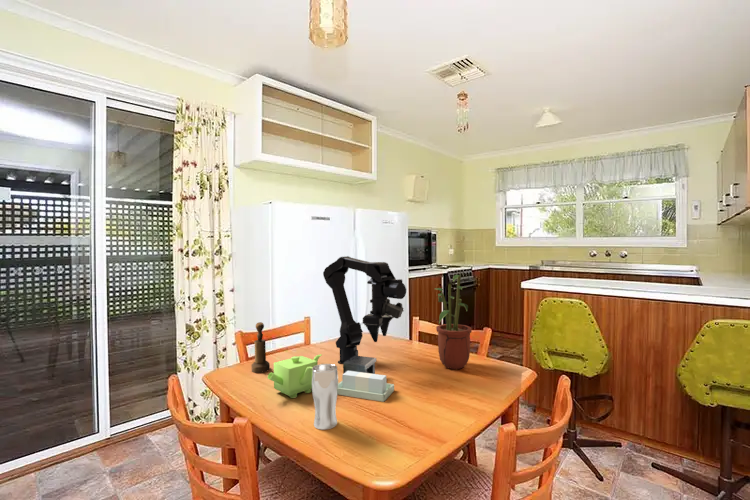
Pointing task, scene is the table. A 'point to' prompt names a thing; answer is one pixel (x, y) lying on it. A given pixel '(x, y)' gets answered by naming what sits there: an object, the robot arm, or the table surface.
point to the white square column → (364, 382)
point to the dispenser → (360, 364)
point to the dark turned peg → (260, 352)
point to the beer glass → (325, 395)
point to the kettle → (293, 375)
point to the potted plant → (453, 333)
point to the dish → (366, 393)
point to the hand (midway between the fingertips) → (380, 338)
